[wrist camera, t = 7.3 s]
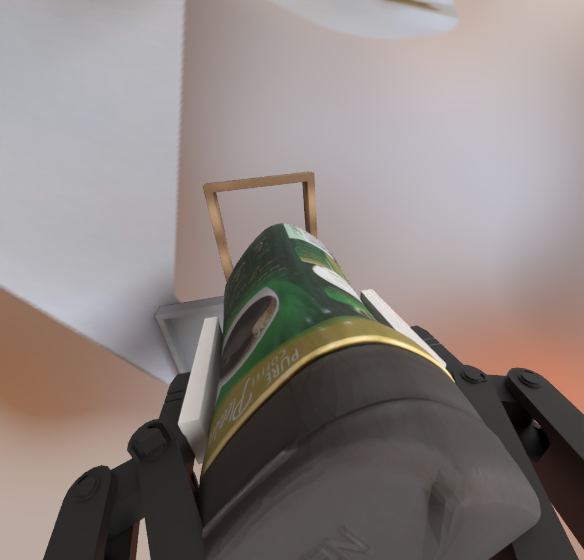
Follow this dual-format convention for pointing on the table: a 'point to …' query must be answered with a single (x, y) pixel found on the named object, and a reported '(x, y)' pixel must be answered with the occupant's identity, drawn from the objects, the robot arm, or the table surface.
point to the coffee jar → (343, 429)
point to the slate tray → (187, 327)
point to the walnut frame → (212, 188)
